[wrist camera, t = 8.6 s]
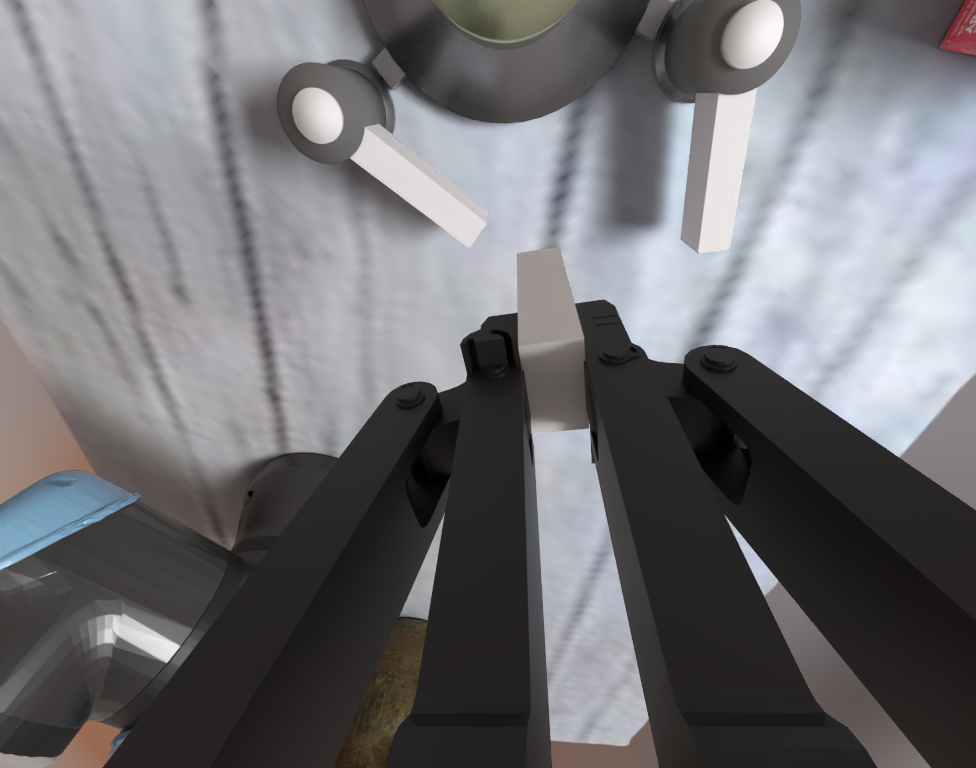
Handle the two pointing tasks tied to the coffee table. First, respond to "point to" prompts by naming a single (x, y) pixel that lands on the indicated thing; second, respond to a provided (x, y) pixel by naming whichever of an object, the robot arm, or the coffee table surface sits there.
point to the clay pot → (386, 698)
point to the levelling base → (510, 51)
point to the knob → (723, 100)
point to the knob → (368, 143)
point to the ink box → (962, 31)
